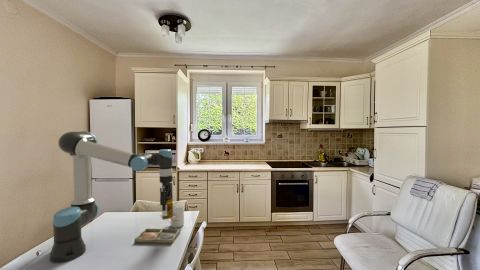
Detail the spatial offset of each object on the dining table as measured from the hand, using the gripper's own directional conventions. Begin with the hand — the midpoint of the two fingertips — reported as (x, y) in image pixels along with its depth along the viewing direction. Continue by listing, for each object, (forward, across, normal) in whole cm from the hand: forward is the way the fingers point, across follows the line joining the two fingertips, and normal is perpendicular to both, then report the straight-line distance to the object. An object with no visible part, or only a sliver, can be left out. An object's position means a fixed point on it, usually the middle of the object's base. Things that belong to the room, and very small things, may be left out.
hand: (166, 213), depth 137 cm
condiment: (+2, +1, 0) cm, 2 cm away
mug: (+15, +18, +2) cm, 24 cm away
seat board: (+15, 0, +6) cm, 16 cm away
